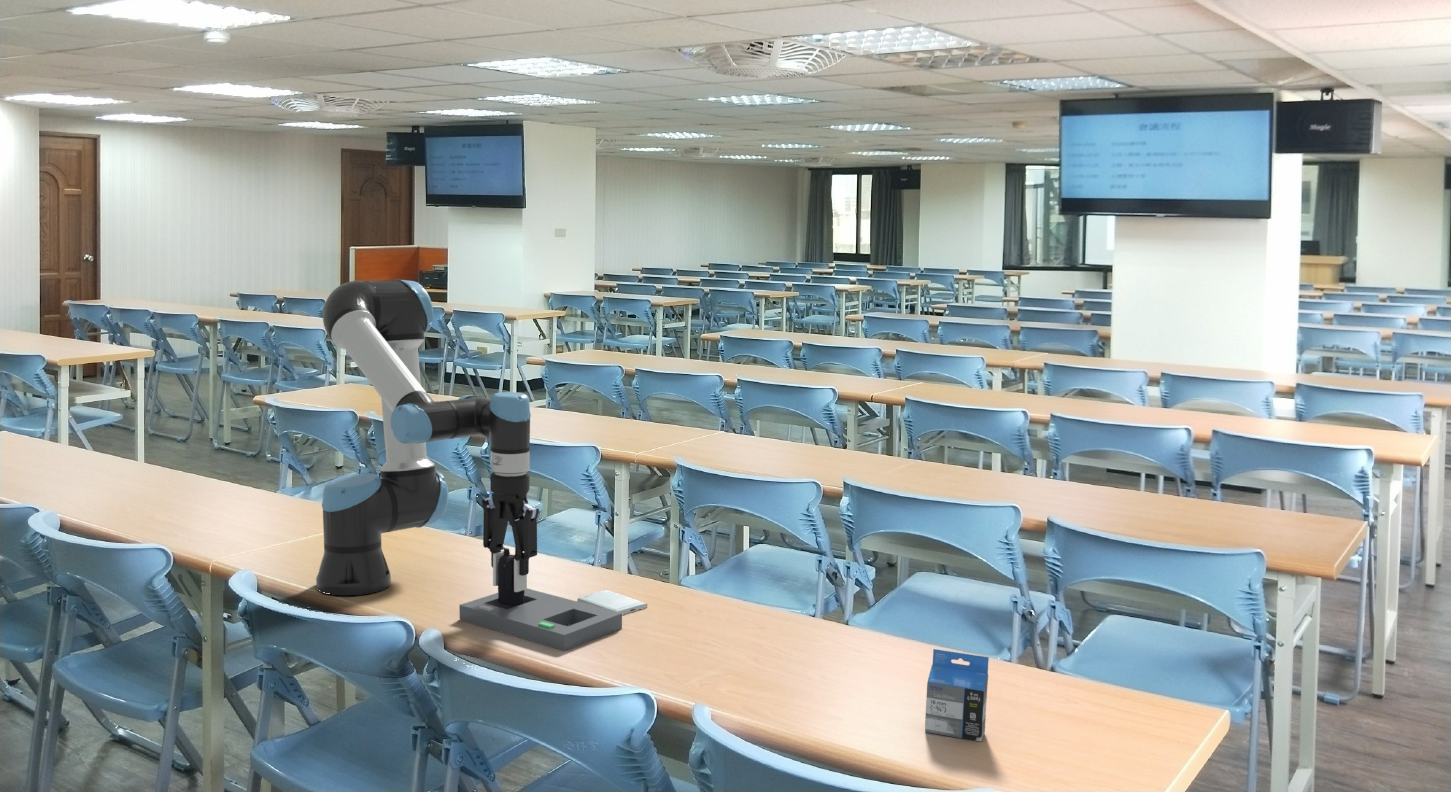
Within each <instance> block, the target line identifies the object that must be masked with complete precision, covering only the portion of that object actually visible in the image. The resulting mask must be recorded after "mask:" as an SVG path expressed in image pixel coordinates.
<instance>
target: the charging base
mask: <svg viewBox="0 0 1451 792" xmlns="http://www.w3.org/2000/svg"><path fill="white" fill-rule="evenodd" d="M459 620H460V621H462V620H463V622H466V623H469V624H472V623H473V624H472V625H476V626H479V627H482V628H483V627H484V628H487V629H490V630H493V631H497V632H499V633H503V634H507V635H509V636H514V637H517V638H520V639H523V640H525V641H526V640H527V641H530V642H534V643H537V644H539V645H540V644H541V645H543V646H547V647H551V648H553V649H557V650H561V651H562V652H563V651H564V652H565V651H567V650H571V649H573V648H575V647H578V646H581V645H583V644H586V643H588V642H591V641H594V640H596V639H599V638H601V637H604V636H606V635H608V633H609V634H611V633H613V631H614V632H616V631H619V630H621V628H623V615H622V613H619V612H615V611H611V610H608V609H604V608H600V607H596V606H592V605H588V604H585V603H581V602H577V601H576V600H572V599H569V598H566V597H562V596H561V597H560V596H557V595H554V594H550V593H546V592H542V591H539V590H535V589H532V588H527V589H525V591H524V603H523V604H522V605H519V606H509V605H501V604H500V603H499V602H498V592H496V593H493V594H489V595H486V596H484V597H480V598H477V599H474V600H471V601H468V602H465V603H461V604H459Z"/></svg>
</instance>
